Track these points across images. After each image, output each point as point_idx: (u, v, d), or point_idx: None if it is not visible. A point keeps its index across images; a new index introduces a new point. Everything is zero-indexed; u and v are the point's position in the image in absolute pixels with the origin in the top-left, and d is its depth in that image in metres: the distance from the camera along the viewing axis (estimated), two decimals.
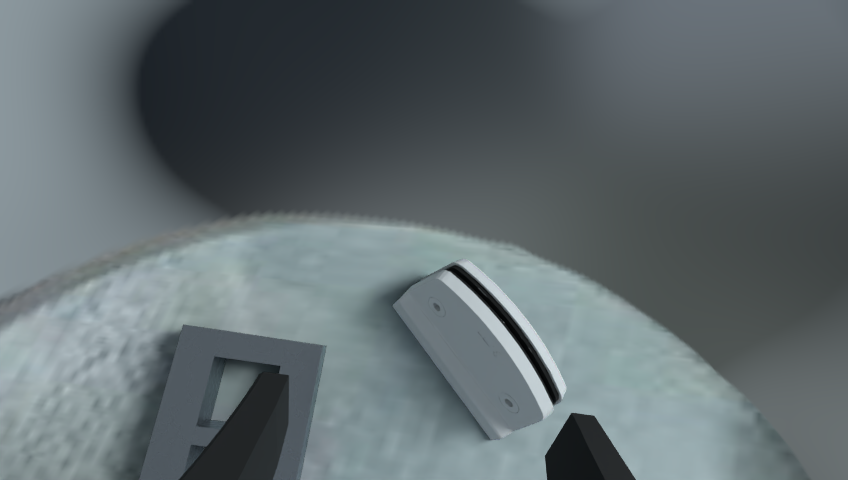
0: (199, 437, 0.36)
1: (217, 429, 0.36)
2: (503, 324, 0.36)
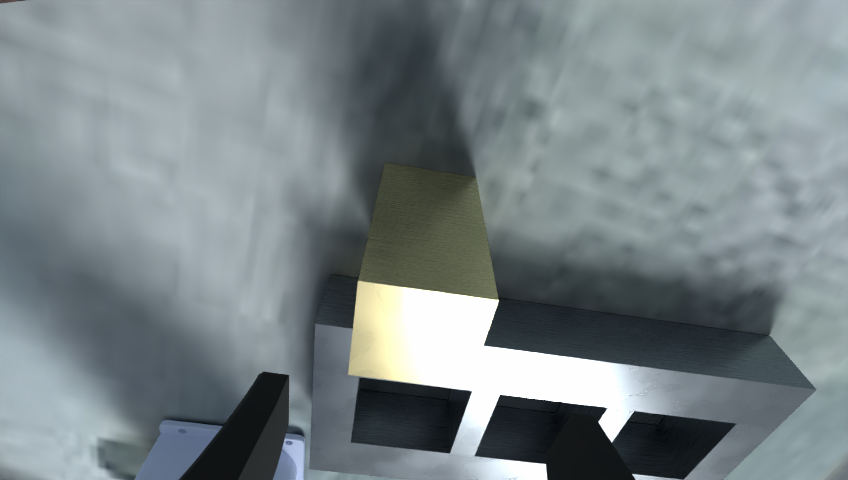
0: (615, 414, 0.22)
1: (618, 429, 0.23)
2: None
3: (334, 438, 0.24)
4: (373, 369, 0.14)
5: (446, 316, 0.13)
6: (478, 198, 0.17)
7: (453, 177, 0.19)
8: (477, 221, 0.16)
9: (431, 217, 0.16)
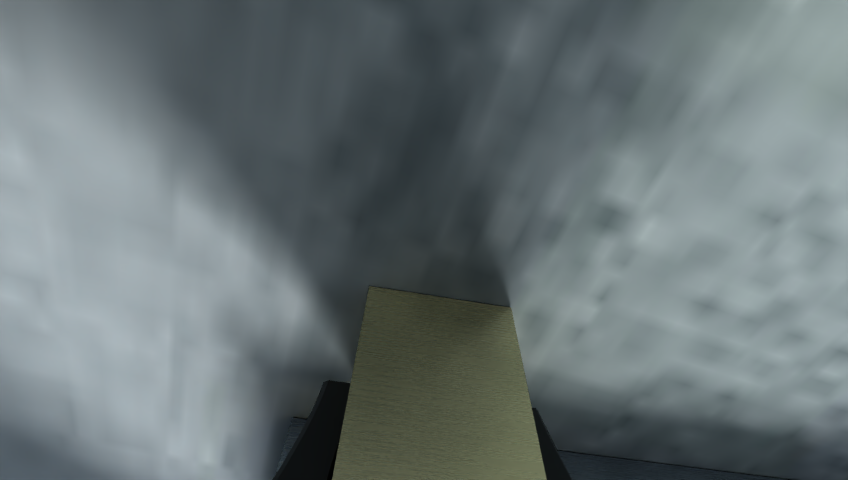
0: None
1: None
2: None
3: None
4: None
5: None
6: (519, 361, 0.11)
7: (475, 312, 0.12)
8: (524, 429, 0.09)
9: (444, 427, 0.09)
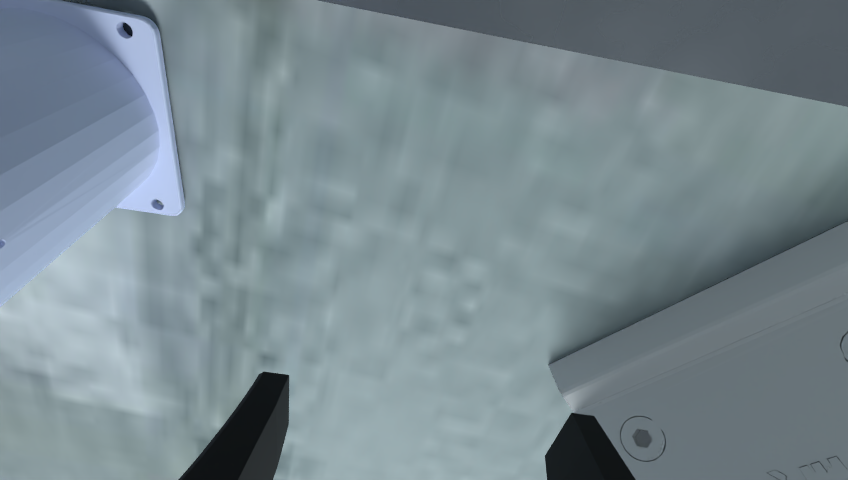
0: None
1: None
2: None
3: None
4: None
5: None
6: None
7: None
8: None
9: None
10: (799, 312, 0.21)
